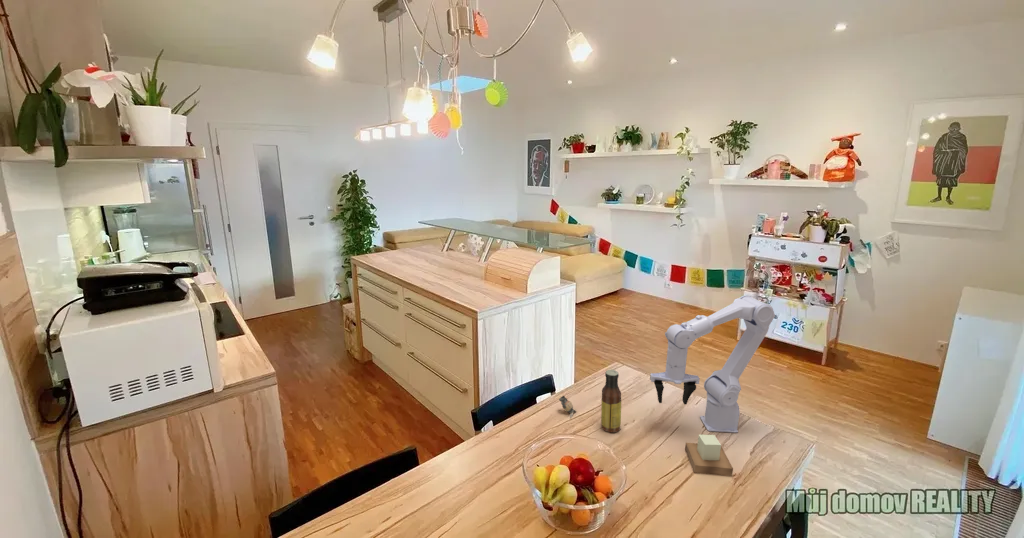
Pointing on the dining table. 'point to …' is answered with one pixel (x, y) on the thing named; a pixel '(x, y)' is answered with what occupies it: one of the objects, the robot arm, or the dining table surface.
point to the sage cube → (708, 447)
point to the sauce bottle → (611, 403)
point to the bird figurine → (567, 405)
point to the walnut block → (708, 462)
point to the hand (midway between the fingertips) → (672, 402)
